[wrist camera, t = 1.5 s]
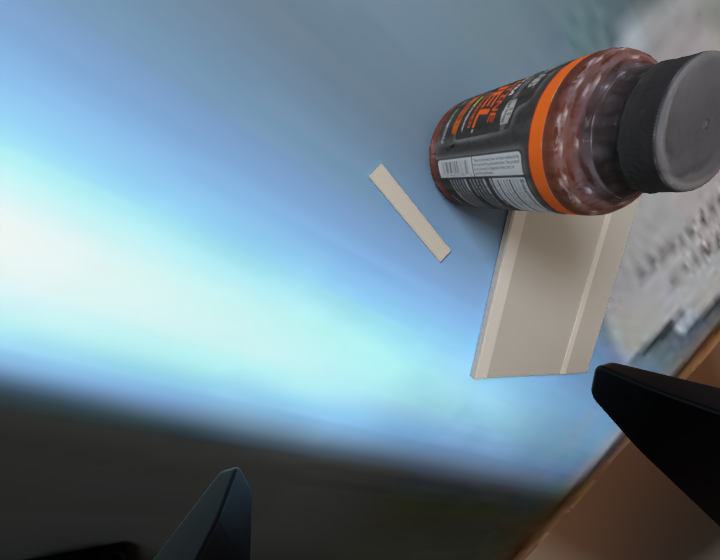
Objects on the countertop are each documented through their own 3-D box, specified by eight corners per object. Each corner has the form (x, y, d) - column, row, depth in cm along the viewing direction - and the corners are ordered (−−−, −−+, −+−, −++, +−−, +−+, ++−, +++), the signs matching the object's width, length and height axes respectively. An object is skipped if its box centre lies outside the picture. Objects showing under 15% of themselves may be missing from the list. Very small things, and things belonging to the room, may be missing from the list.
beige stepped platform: (582, 370, 29) (587, 372, 29) (470, 375, 25) (474, 379, 24) (640, 177, 26) (647, 177, 26) (523, 143, 22) (529, 142, 21)
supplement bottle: (473, 76, 20) (748, -48, 9) (522, 157, 22) (780, 130, 12) (404, 152, 19) (612, 111, 9) (462, 226, 22) (675, 260, 11)
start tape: (439, 261, 22) (440, 262, 22) (368, 176, 19) (369, 176, 19) (450, 250, 22) (450, 250, 22) (380, 163, 19) (381, 163, 19)
